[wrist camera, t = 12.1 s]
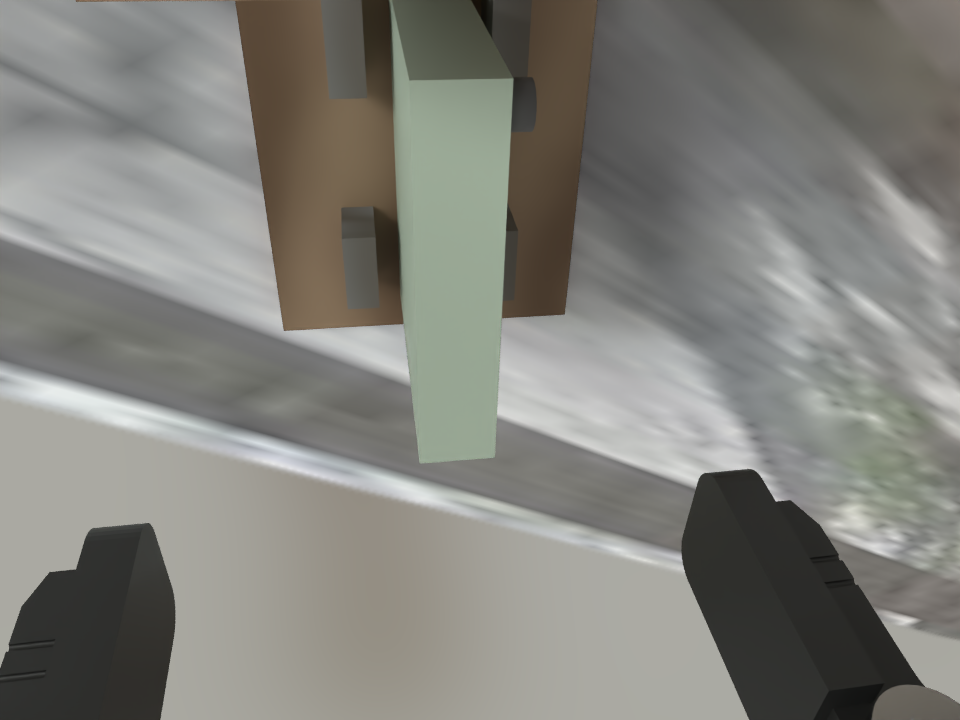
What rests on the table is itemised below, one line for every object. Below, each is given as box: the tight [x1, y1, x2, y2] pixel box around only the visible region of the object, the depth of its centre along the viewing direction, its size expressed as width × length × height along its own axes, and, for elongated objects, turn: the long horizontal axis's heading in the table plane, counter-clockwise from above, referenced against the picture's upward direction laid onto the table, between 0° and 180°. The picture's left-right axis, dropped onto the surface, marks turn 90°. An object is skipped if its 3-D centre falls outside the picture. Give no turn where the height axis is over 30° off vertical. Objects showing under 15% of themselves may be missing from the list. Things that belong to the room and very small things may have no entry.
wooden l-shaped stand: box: [76, 0, 597, 331], centre depth 23 cm, size 12×18×17 cm, turn 179°
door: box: [389, 0, 537, 463], centre depth 26 cm, size 3×12×10 cm, turn 179°
